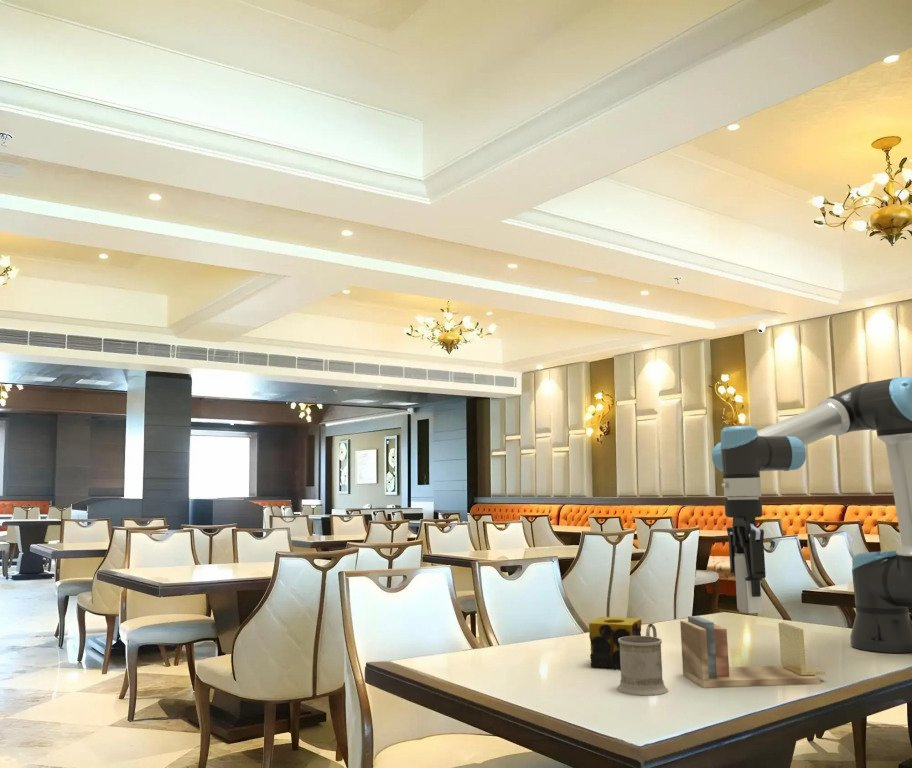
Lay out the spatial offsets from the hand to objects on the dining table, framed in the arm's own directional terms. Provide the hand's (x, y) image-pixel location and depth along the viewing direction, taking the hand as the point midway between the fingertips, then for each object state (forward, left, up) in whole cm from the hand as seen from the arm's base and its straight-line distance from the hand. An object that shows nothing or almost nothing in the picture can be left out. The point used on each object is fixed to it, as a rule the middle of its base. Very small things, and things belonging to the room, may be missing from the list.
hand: (749, 610), depth 172 cm
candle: (+24, -18, -14) cm, 33 cm away
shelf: (+1, 0, -14) cm, 14 cm away
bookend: (-11, 0, -12) cm, 16 cm away
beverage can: (0, 0, 0) cm, 0 cm away
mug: (+24, +4, -14) cm, 28 cm away
